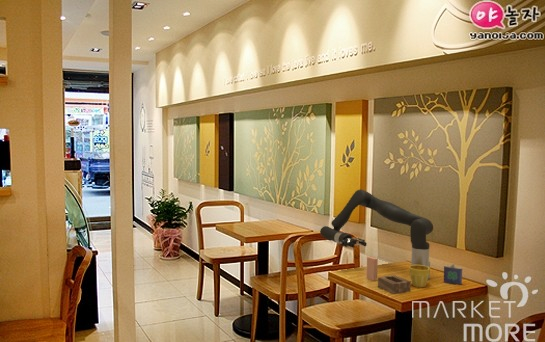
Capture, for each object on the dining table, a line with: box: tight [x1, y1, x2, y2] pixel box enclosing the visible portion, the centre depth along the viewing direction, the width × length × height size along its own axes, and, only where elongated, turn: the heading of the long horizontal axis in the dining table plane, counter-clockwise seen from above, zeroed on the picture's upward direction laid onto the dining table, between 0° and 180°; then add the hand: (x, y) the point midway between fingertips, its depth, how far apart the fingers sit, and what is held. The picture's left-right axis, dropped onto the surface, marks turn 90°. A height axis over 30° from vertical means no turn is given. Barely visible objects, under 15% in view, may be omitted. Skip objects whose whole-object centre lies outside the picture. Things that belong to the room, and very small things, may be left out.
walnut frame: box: [377, 274, 412, 295], centre depth 244 cm, size 11×13×5 cm
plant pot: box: [408, 265, 431, 288], centre depth 250 cm, size 10×10×10 cm
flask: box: [443, 263, 463, 286], centre depth 254 cm, size 9×3×11 cm, turn 63°
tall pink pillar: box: [366, 256, 379, 282], centre depth 260 cm, size 2×6×12 cm, turn 27°
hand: (359, 245), depth 269 cm, fingers open, 8 cm apart
